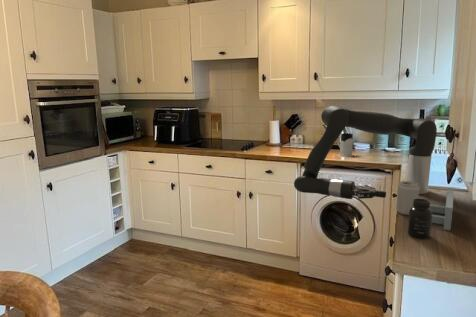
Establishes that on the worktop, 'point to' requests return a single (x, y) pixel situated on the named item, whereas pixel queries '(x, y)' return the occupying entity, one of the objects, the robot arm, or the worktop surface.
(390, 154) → the worktop surface
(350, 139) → the glass holder
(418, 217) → the supplement bottle
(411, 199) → the can
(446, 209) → the stop bay
